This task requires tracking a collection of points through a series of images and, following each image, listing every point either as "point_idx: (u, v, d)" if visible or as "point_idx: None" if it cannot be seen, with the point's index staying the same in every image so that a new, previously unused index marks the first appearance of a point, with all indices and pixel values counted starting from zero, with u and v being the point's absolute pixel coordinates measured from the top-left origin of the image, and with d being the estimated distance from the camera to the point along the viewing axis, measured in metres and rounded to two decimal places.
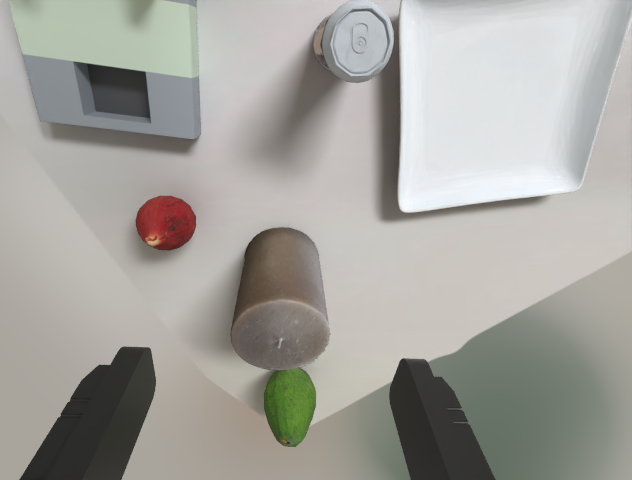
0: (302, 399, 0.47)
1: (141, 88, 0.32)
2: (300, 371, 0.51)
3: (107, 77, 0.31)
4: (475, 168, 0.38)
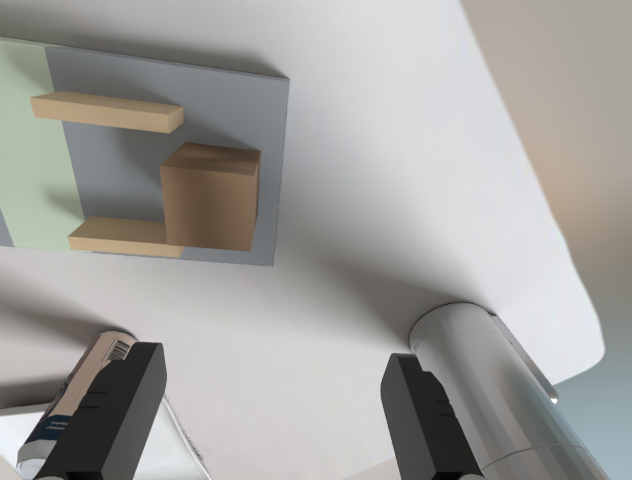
0: None
1: None
2: None
3: None
4: None
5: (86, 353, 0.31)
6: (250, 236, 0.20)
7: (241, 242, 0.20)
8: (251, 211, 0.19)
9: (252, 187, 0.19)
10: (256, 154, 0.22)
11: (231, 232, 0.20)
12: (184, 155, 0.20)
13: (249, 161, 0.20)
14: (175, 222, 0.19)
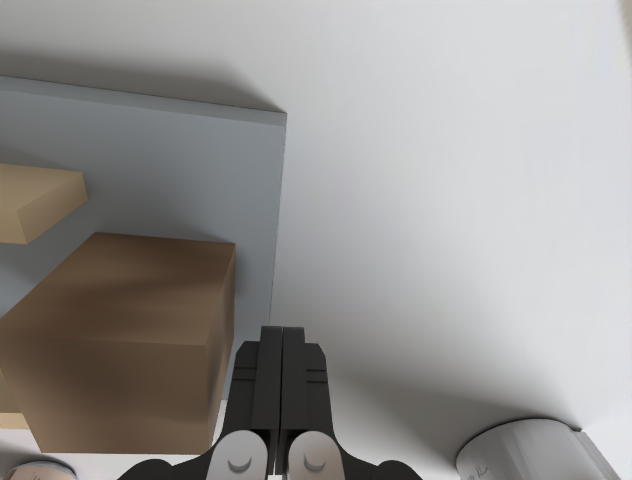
0: None
1: None
2: None
3: None
4: None
5: None
6: (207, 433, 0.10)
7: (190, 443, 0.10)
8: (205, 400, 0.09)
9: (203, 364, 0.09)
10: (226, 254, 0.12)
11: (167, 431, 0.10)
12: (69, 281, 0.10)
13: (205, 284, 0.10)
14: (48, 421, 0.09)
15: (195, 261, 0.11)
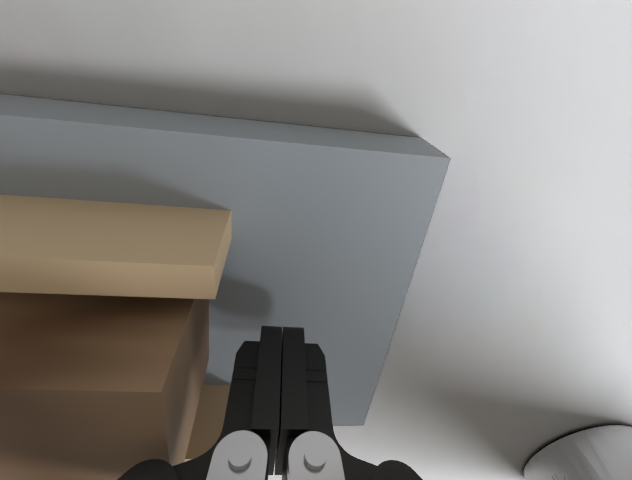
0: None
1: None
2: None
3: None
4: None
5: None
6: None
7: None
8: (165, 449, 0.08)
9: (160, 411, 0.07)
10: None
11: None
12: (1, 307, 0.08)
13: (169, 309, 0.09)
14: None
15: None
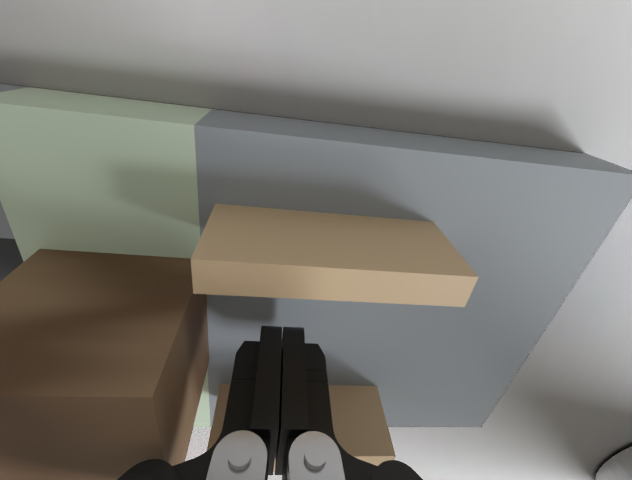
0: None
1: None
2: None
3: None
4: None
5: None
6: None
7: None
8: (160, 454, 0.08)
9: (153, 417, 0.07)
10: None
11: None
12: None
13: (163, 313, 0.09)
14: None
15: (154, 283, 0.10)
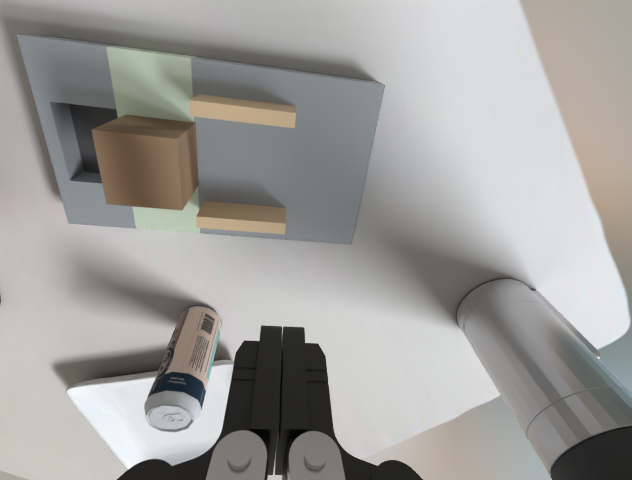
0: None
1: None
2: None
3: None
4: (131, 415, 0.45)
5: (180, 324, 0.35)
6: (180, 196, 0.23)
7: (173, 201, 0.23)
8: (178, 172, 0.22)
9: (176, 149, 0.21)
10: (190, 124, 0.24)
11: (162, 192, 0.23)
12: (119, 123, 0.22)
13: (178, 129, 0.23)
14: (111, 182, 0.22)
15: (174, 124, 0.24)
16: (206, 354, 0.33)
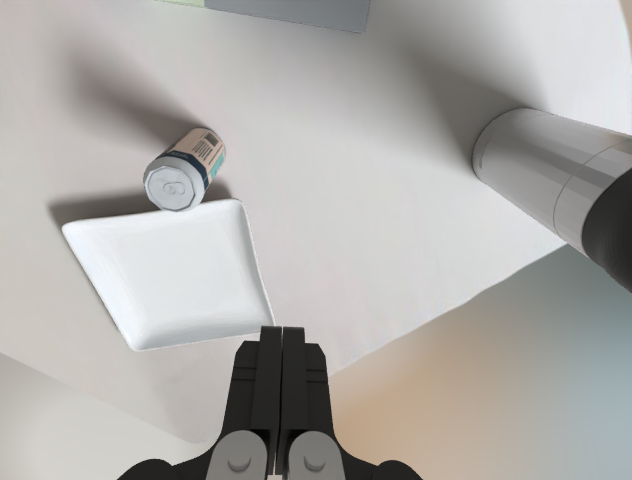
0: None
1: None
2: None
3: None
4: (130, 276, 0.43)
5: (182, 137, 0.33)
6: None
7: None
8: None
9: None
10: None
11: None
12: None
13: None
14: None
15: None
16: (209, 155, 0.31)
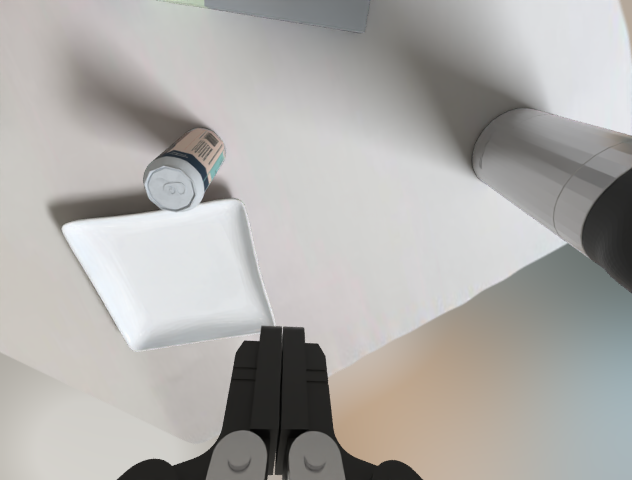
0: None
1: None
2: None
3: None
4: (130, 276, 0.43)
5: (182, 137, 0.33)
6: None
7: None
8: None
9: None
10: None
11: None
12: None
13: None
14: None
15: None
16: (209, 155, 0.31)
